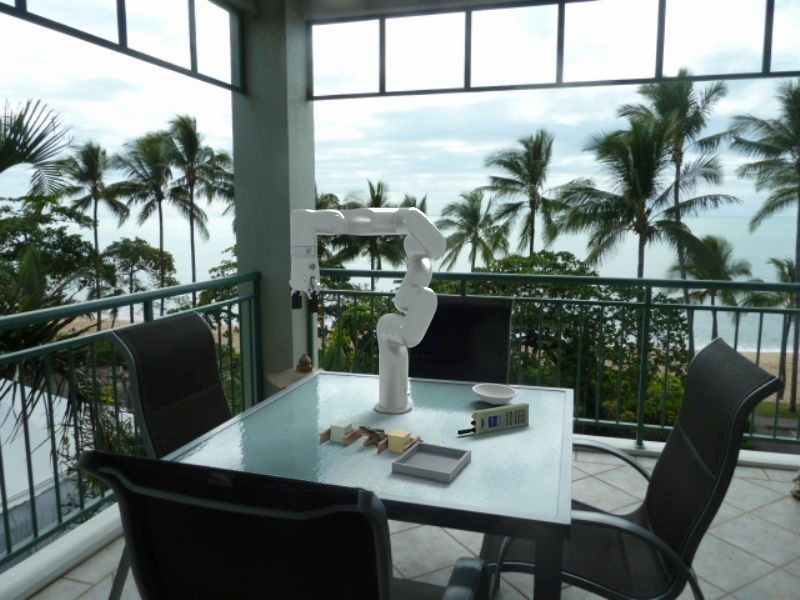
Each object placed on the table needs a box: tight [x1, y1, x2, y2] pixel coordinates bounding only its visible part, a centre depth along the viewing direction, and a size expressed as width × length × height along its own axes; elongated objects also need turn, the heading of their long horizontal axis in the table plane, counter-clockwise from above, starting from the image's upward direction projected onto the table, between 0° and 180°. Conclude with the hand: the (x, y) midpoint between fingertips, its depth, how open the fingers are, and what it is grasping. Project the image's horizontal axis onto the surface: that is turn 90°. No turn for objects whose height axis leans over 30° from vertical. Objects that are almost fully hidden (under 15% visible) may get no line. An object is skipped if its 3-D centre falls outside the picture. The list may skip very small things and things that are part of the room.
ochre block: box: [387, 429, 412, 454], centre depth 160 cm, size 4×4×4 cm
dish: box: [471, 383, 519, 406], centre depth 201 cm, size 18×14×5 cm
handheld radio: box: [457, 402, 530, 436], centre depth 176 cm, size 7×3×25 cm
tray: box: [391, 441, 472, 485], centre depth 149 cm, size 16×15×2 cm
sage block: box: [330, 419, 353, 443], centre depth 168 cm, size 4×4×4 cm
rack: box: [319, 426, 424, 454], centre depth 165 cm, size 12×26×2 cm, turn 65°
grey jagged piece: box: [358, 425, 386, 446], centre depth 164 cm, size 8×6×7 cm
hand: (304, 310), depth 174 cm, fingers open, 9 cm apart
